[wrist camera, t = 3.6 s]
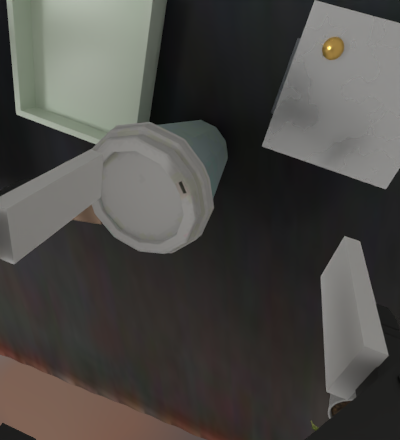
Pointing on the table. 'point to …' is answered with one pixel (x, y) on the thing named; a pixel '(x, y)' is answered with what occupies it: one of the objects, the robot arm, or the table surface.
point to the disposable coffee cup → (159, 182)
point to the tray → (85, 62)
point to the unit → (342, 96)
